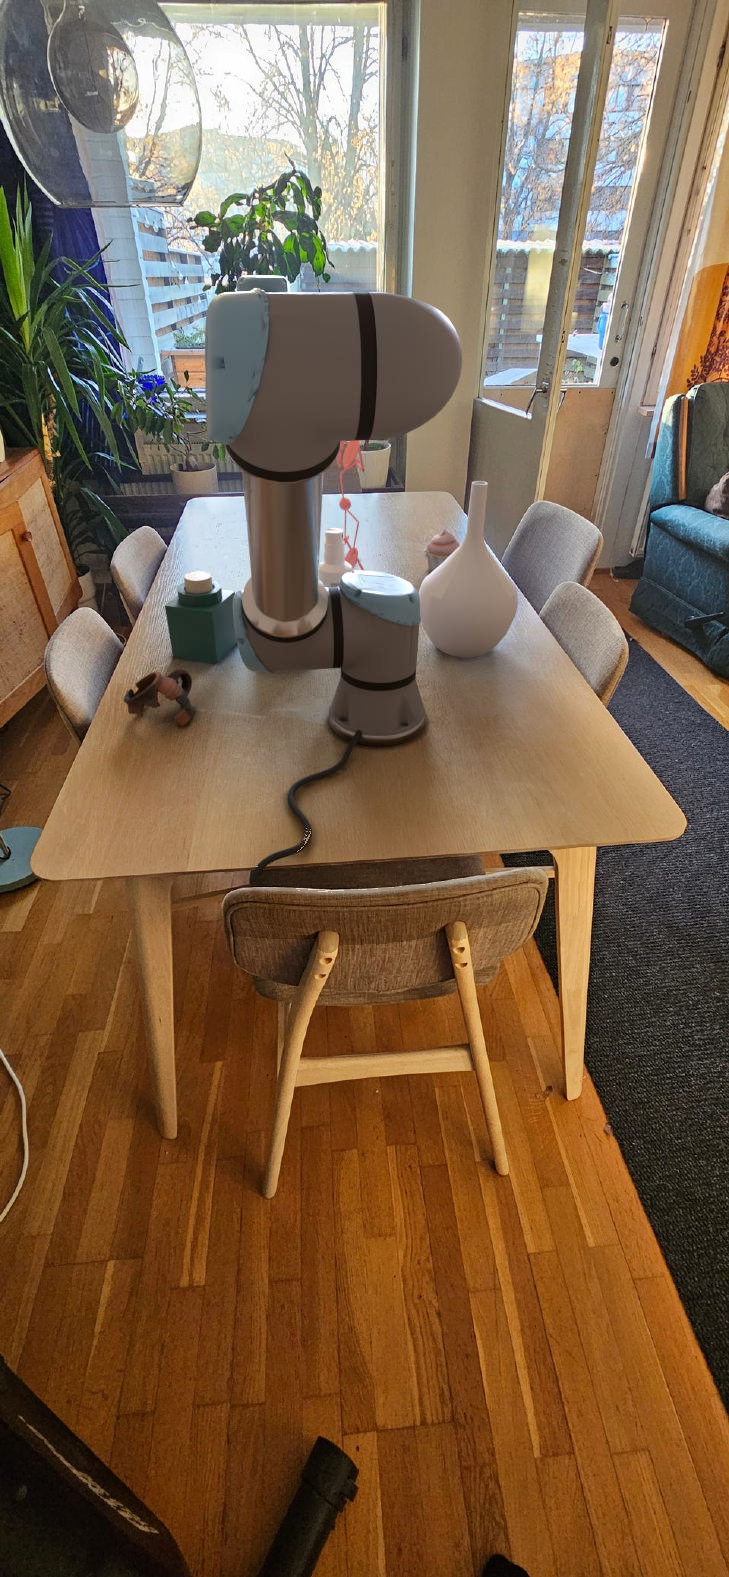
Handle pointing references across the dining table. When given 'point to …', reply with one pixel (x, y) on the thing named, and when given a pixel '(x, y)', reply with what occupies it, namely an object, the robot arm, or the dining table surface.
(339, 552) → the white bottle
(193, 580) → the beige cylinder
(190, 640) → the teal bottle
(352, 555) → the figurine
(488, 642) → the vase
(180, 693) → the brown jagged looped figure
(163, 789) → the dining table surface
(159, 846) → the dining table surface
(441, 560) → the cupcake
